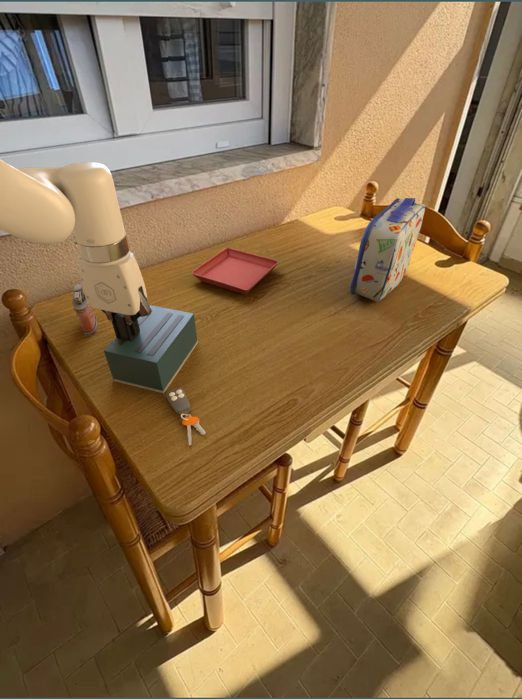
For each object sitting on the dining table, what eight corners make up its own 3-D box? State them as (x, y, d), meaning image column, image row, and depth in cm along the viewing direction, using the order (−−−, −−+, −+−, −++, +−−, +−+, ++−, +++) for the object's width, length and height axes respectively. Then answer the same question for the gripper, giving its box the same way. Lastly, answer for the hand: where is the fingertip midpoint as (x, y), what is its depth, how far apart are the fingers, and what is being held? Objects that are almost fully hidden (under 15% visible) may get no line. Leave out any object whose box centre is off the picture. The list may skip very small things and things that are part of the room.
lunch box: (377, 259, 116) (394, 184, 102) (411, 268, 112) (434, 191, 98) (343, 301, 98) (358, 217, 84) (382, 313, 94) (405, 228, 80)
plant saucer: (191, 282, 104) (189, 271, 102) (227, 256, 116) (226, 246, 114) (247, 301, 98) (247, 290, 96) (279, 271, 110) (280, 260, 108)
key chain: (164, 397, 73) (162, 391, 72) (182, 390, 74) (181, 384, 73) (189, 447, 64) (188, 441, 63) (209, 438, 66) (209, 433, 65)
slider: (120, 337, 73) (114, 315, 70) (127, 329, 75) (122, 308, 71) (128, 339, 73) (122, 317, 69) (136, 331, 75) (130, 309, 71)
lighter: (83, 317, 92) (69, 281, 85) (97, 315, 92) (86, 278, 86) (81, 337, 86) (67, 300, 79) (97, 334, 87) (84, 297, 80)
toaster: (113, 381, 76) (102, 350, 70) (153, 333, 87) (146, 303, 82) (163, 393, 73) (156, 362, 68) (198, 342, 85) (194, 312, 80)
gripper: (47, 250, 61) (81, 339, 73) (135, 265, 57) (155, 355, 70) (77, 231, 66) (104, 317, 78) (159, 244, 63) (174, 331, 75)
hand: (128, 334), depth 74 cm, fingers closed on slider, 2 cm apart
